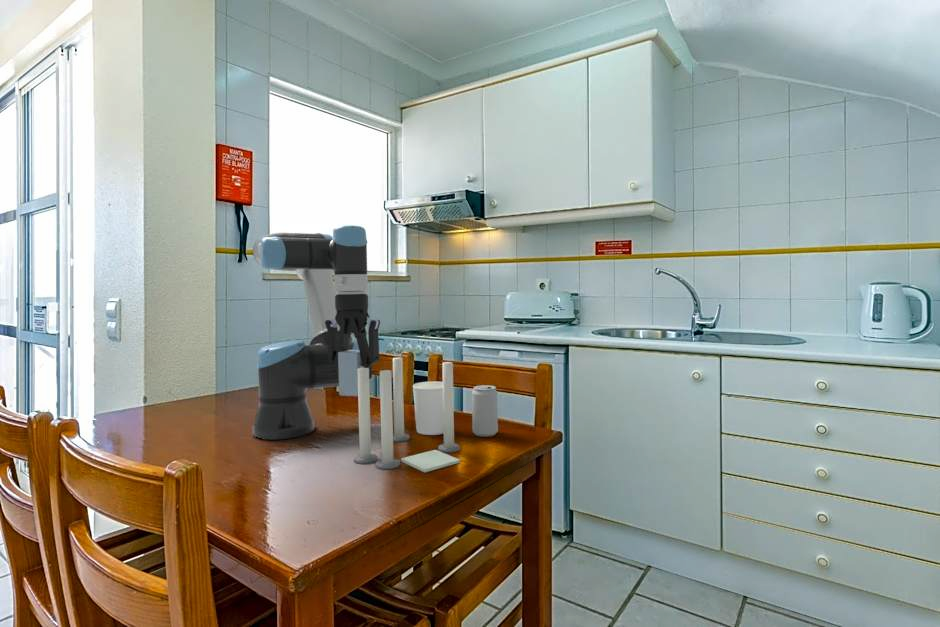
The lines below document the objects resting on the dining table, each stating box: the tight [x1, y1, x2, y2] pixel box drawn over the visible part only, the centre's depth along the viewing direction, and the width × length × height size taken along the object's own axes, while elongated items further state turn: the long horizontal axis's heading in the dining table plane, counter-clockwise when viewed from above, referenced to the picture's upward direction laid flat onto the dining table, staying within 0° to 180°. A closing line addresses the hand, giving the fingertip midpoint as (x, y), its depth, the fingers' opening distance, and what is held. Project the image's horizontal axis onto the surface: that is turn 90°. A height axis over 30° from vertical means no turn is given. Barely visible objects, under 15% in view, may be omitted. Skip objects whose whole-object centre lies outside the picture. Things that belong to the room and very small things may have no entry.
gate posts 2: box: [375, 361, 461, 471], centre depth 114 cm, size 5×21×20 cm, turn 129°
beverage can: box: [471, 384, 499, 438], centre depth 131 cm, size 6×6×12 cm
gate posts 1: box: [353, 357, 411, 465], centre depth 120 cm, size 5×21×20 cm, turn 161°
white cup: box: [412, 380, 444, 436], centre depth 135 cm, size 10×10×12 cm
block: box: [338, 350, 363, 397], centre depth 122 cm, size 5×5×10 cm
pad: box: [400, 449, 461, 473], centre depth 111 cm, size 9×9×1 cm
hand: (354, 392), depth 122 cm, fingers closed on block, 5 cm apart
